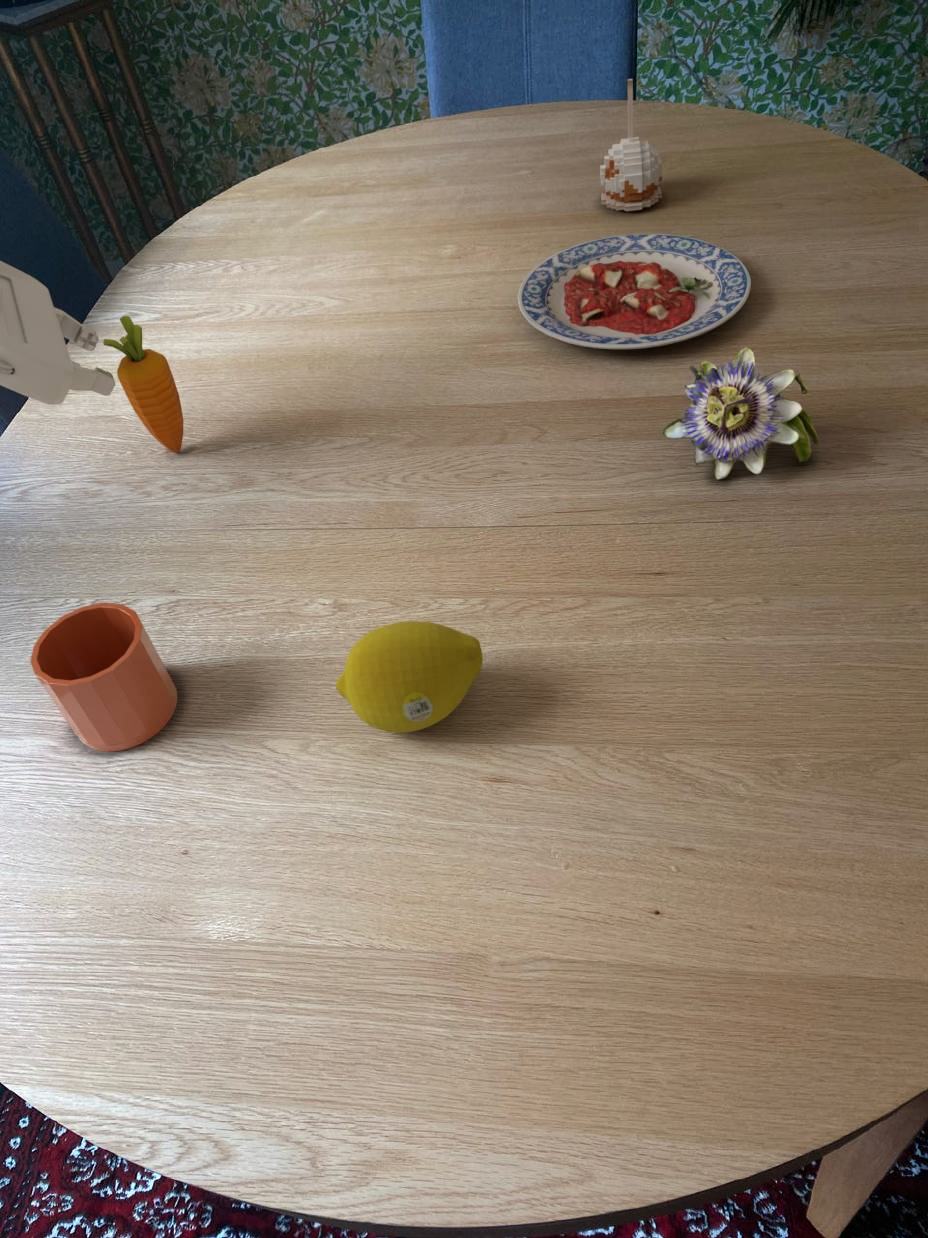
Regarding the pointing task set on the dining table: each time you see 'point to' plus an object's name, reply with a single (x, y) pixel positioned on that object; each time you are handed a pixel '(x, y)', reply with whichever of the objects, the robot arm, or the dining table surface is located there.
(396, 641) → the lemon
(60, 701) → the pot
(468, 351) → the dining table surface
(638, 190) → the decorative ornament
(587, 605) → the dining table surface
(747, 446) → the passion flower
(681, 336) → the ceramic plate
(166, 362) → the carrot
